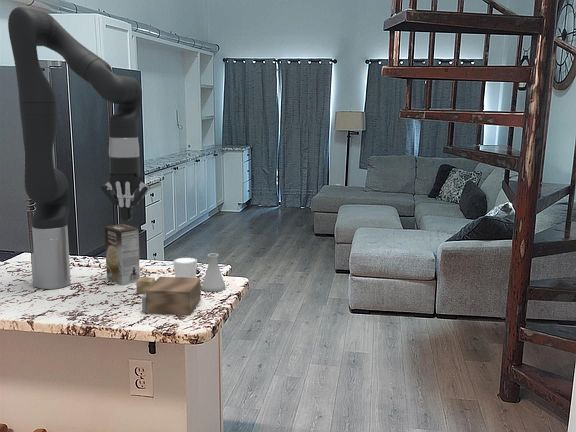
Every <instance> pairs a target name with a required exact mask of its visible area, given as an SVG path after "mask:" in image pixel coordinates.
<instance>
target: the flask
mask: <svg viewBox="0 0 576 432" xmlns="http://www.w3.org/2000/svg"><path fill="white" fill-rule="evenodd" d="M207 258H208V264H207V269H206V272H205V276H204V278H203V281H202V284H201V285H200V289H201V291H205V292H210V293H211V292H222V291H223V290H225V289H226V284H225V281H224V278H223V276H222V272H221V269H220V267H219V262H218V261H219V260H218V258H219V253H213V252H212V253H207Z"/></svg>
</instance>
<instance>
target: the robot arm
mask: <svg viewBox="0 0 576 432" xmlns="http://www.w3.org/2000/svg"><path fill="white" fill-rule="evenodd" d="M7 29H8V30H7V31H8V35H9V42H10V47H11V50H12V56H13V60H14V67H15V73H16V74H15V75H16V80H17V81H16V82H17V90H18V103H19V105H18V106H19V112H20V115H19V116H20V122H21V130H22V131H21V132H22V141H23V147H24V148H23V149H24V189H25V192H26V195H27V197H28V198H29V199H30V200H31V202H33V203H35V204H36V205H35V210H34V213H33V215H32V216H31V217H32V218H31V232H32V245H33V252H32V253H31V254H30V261H31V262H30V265H31V266H30V267H31V279H32V288H33V287H34V288H38V289H42V290H55V289H60V288H65V287H67V286H69V285H70V284H71V267H70V266H71V265H70V249H69V248H70V247H69V246H70V245H69V234H68V233H69V232H68V227H69V226H68V217H69V214H70V190H69V188H70V187H69V182H68V179H67V177H66V175H65V173H64V172H63V171H61V170H59V169H57V168H55V165H54V157H53V150H54V142H55V139H56V134H57V128H58V122H59V121H58V118H59V117H58V106H57V97H56V94H55V92H54V89H53V87H52V85H51V83H50V82H49V80H48V79H47V77H46V75H45V73H44V72H43V70H42V67H41V64H40V60H39V57H38V56H39V55H38V48H37V47H45V48H47V49H49V50H52V51H54V52H55V53H57V54H58V55H60V56H61V57H62V58H63V59H64V61H65V63H66V64H67V66H68V68H69V69H70V70H71V71H72V72H73V73H74V74H76V75H77V76H78V77H79V78H81V79H83V80H84V81H86V82H87V83H88V84H89V85H91V86H92V88H93V89H94V90H95V91H96V92H97V94H98V95H99V96H100V97H101V98H102V99H104V100H105V101H107V102H108V103H110V104H114V105H117V111H116V113H114V114H113V113H112V115H110V117H109V119H108V128H109V130H108V132H109V134H108V135H109V141H108V143H109V144H108V158H109V177H108V181H107V182H106V183H105V184H104V185H102V186H101V187H100V190H101V191H102V192H103V193H104V195H105V196H106V197H107V198H108V200H109V201H110V202H111V203H112V205H116V206H118V207H119V209H120V211H119V212H120V213H119V214H120V215H119V216H120V218H121V220H122V221H123V222H130V221H131V220H132V219H133V215H134V214H133V213H134V210H133V207H134V206H137V205H139V204H140V203H141V201H142V200H143V199H144V197H145V196H146V195H147V194H148V192H149V191H150V189H151V186H150V185H147V184H146V183H144V182H143V179H142V177H141V165H140V164H141V163H140V161H141V160H140V143H139V135H138V134H139V133H138V119H139V116H140V112H141V107H142V101H143V89H142V86H141V83H140V81H139V80H137V78H135V77H132V76H127V75H119V74H116V73H115V72H113V69H112V67H111V65H110V64H109V63H108V62H107V61H106V60H104V59H103V58H101V57H100V56H99V55H97V54H95V53H94V52H93V51H92V50H90V49H89V48H87V47H86V46H84V45H83V44H81V43H80V41H79V40H77V39H76V38H74V36H73V35H71V34H70V32H68V31H67V30H66V29H65V28H64V27H63V26H62V25H61V23H59V22H58V20H57V19H55V18H54V17H53V16H52V15H51V14H49V12H46V11H43V10H39V9H35V8H34V9H33V8H30V7H29V8H28V7H24V6H17V7H15V8H13V9H12V10H11V12H10V13H9V15H8V21H7ZM113 190H114V191H115V192H116V193H115V192H114V191H113ZM137 190H139V192H138V194H137V195H136V196H135V193H136V192H137Z"/></svg>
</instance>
